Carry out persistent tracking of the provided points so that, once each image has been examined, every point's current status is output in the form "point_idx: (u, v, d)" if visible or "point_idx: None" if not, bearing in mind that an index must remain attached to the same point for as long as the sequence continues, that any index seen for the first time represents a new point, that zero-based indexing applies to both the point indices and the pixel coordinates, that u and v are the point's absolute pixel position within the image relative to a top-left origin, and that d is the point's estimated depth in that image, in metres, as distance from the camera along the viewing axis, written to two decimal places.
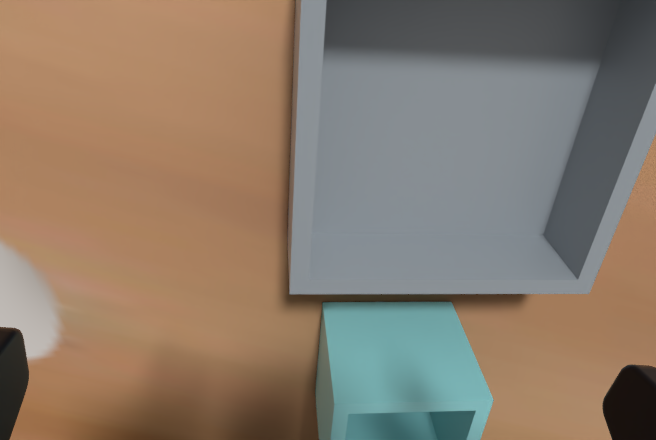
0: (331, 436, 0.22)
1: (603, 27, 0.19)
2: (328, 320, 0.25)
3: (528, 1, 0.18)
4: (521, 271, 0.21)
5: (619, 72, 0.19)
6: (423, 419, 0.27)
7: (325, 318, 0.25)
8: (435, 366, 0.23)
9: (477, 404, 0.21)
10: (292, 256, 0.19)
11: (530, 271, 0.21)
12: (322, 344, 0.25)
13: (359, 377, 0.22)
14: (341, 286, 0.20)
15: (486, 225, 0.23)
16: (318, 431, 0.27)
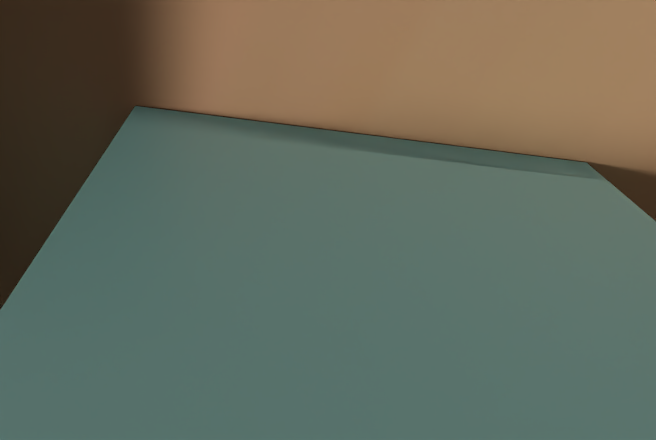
0: None
1: None
2: None
3: None
4: None
5: None
6: None
7: None
8: None
9: None
10: None
11: None
12: None
13: None
14: None
15: None
16: None
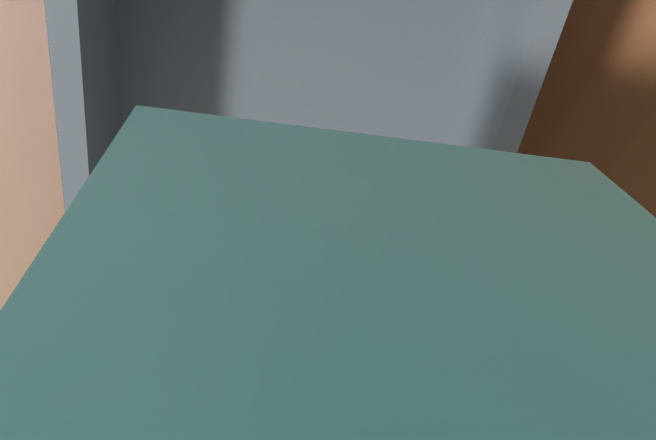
0: None
1: None
2: None
3: (154, 34, 0.15)
4: (512, 63, 0.14)
5: None
6: None
7: None
8: None
9: None
10: None
11: (517, 49, 0.14)
12: None
13: None
14: None
15: (459, 58, 0.16)
16: None
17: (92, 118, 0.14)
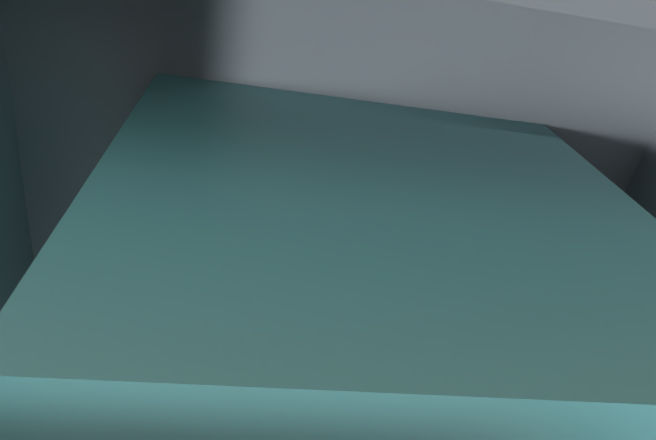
0: None
1: None
2: None
3: (85, 141, 0.09)
4: None
5: None
6: None
7: None
8: None
9: None
10: None
11: None
12: None
13: None
14: None
15: (611, 169, 0.10)
16: None
17: None
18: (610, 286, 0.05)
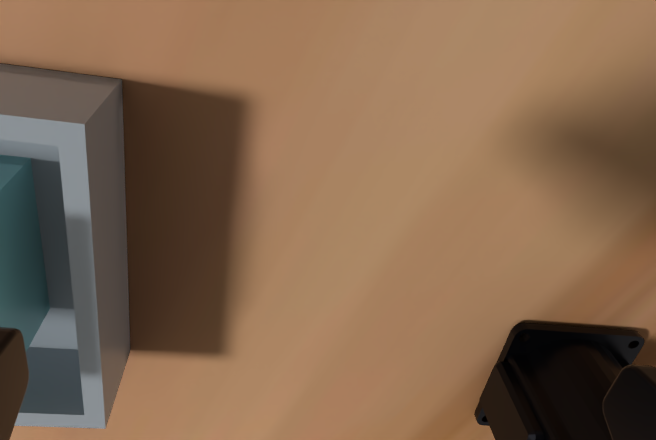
0: None
1: None
2: None
3: None
4: None
5: None
6: None
7: None
8: None
9: None
10: (55, 426, 0.20)
11: None
12: None
13: None
14: (92, 391, 0.19)
15: None
16: None
17: None
18: None
